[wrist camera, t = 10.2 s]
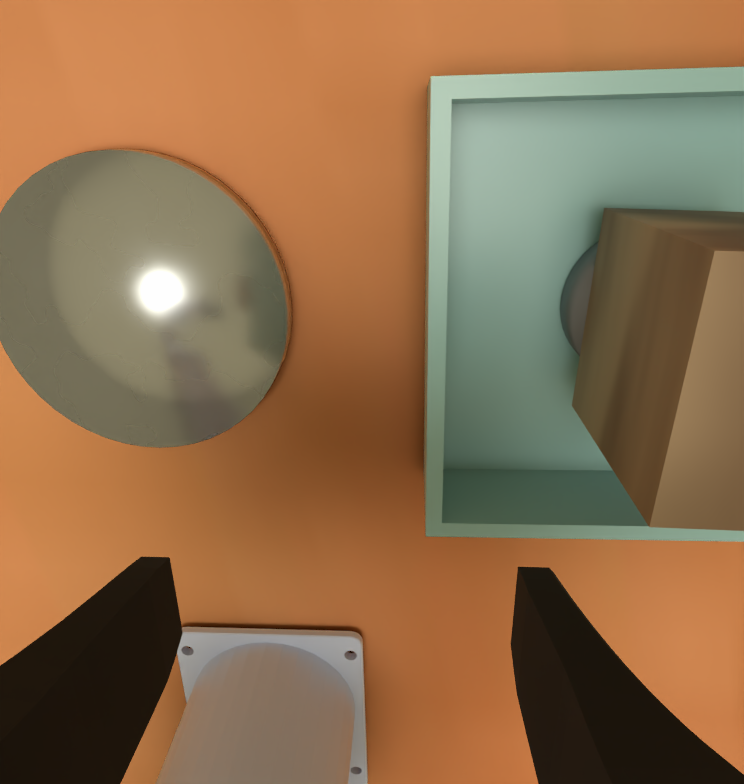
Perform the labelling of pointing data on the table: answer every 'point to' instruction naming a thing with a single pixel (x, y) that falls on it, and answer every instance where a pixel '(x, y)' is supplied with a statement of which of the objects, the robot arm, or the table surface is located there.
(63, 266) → the steel base plate
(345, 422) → the table surface
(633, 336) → the brown wooden block
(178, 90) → the table surface
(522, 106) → the teal bin
